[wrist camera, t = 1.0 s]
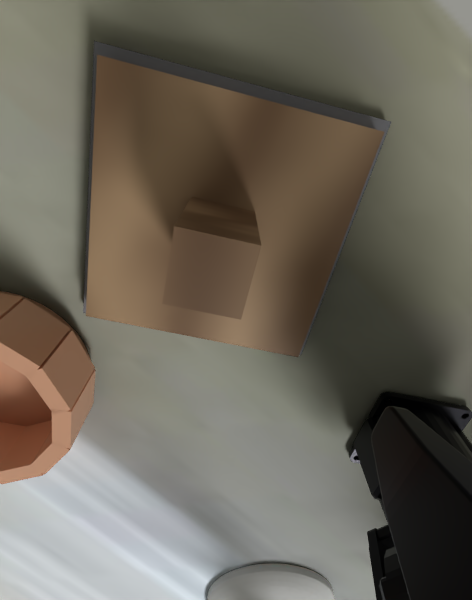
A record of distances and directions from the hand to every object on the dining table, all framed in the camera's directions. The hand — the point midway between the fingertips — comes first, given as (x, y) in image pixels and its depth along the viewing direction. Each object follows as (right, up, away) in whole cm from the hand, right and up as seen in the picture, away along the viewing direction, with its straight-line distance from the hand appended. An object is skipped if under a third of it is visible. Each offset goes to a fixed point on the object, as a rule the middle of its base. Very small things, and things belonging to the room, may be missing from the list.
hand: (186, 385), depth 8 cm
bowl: (-13, -2, +15) cm, 20 cm away
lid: (0, +5, +10) cm, 12 cm away
